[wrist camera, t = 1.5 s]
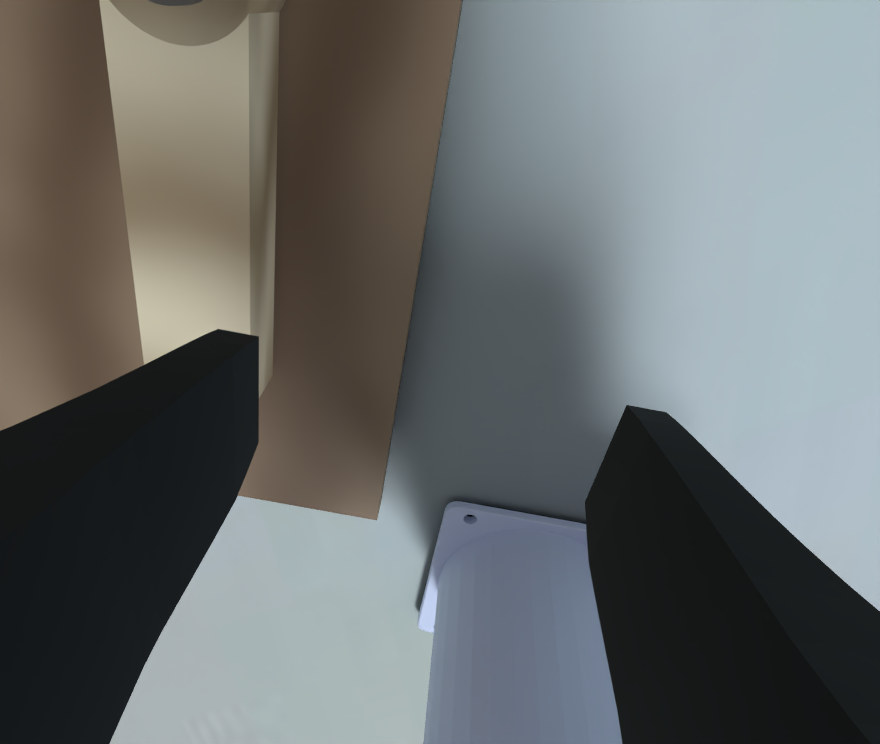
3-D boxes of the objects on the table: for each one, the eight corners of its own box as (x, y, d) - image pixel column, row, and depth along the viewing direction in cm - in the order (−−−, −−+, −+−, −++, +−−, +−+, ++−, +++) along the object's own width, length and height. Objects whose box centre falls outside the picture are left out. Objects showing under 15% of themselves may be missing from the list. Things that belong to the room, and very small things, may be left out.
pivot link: (124, -180, 12) (32, -226, 9) (299, -144, 12) (252, -180, 10) (172, 352, 19) (126, 403, 16) (283, 373, 19) (253, 427, 16)
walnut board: (480, -110, 13) (479, -118, 12) (380, 501, 23) (376, 520, 22) (-404, -296, 12) (-470, -318, 11) (-106, 414, 23) (-128, 429, 22)
